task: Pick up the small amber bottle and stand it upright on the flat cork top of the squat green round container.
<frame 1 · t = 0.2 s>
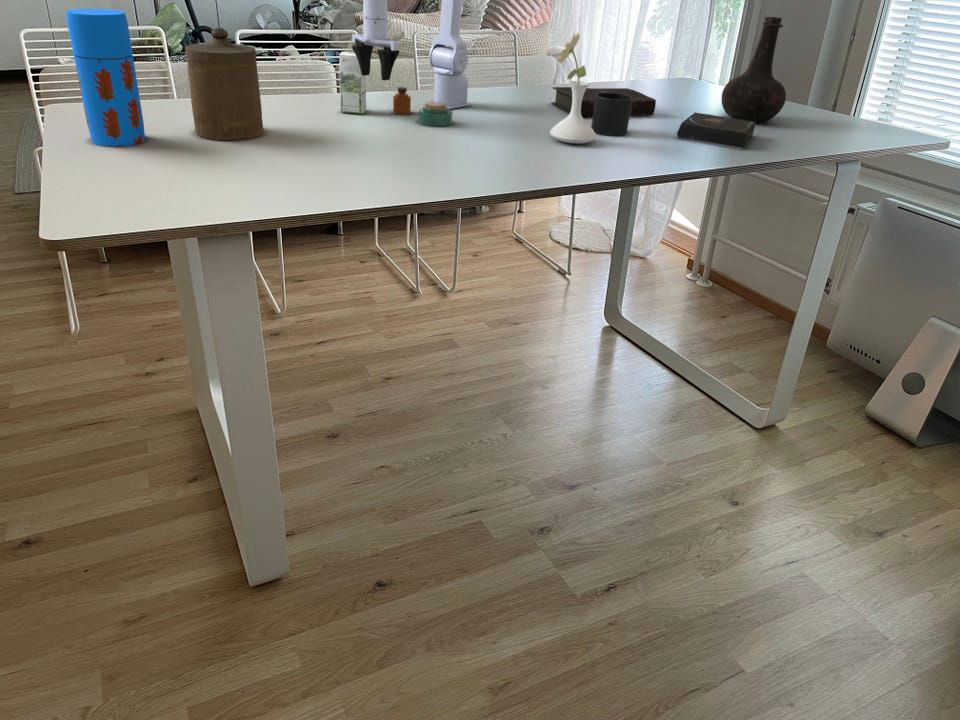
hand: (375, 77, 185), 10 cm above the table, tool pointing down, fingers open, 7 cm apart
green round container: (435, 122, 191), on the table
syrup box: (353, 112, 196), on the table, touching gripper
wooden container: (229, 133, 169), on the table
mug: (612, 132, 196), on the table
flower in vase: (569, 142, 183), on the table
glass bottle: (747, 120, 220), on the table
diary: (601, 111, 218), on the table
amber bottle: (401, 112, 198), on the table
thermos: (118, 141, 158), on the table
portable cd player: (714, 138, 197), on the table
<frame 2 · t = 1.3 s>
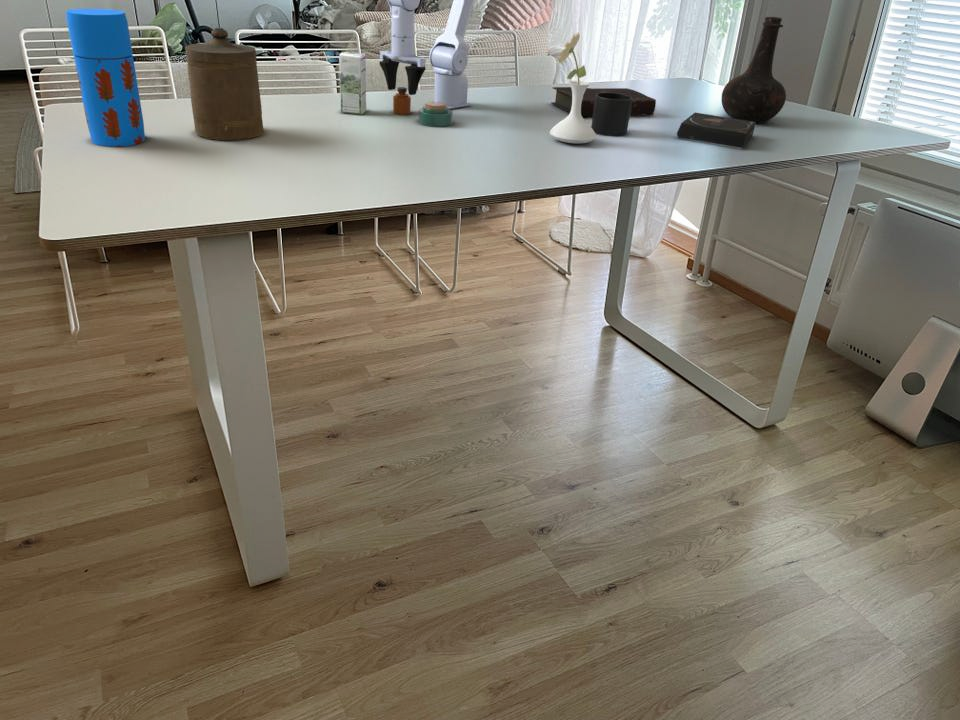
hand: (401, 91, 196), 5 cm above the table, tool pointing down, fingers open, 7 cm apart
syrup box: (353, 112, 196), on the table
everything else where it was.
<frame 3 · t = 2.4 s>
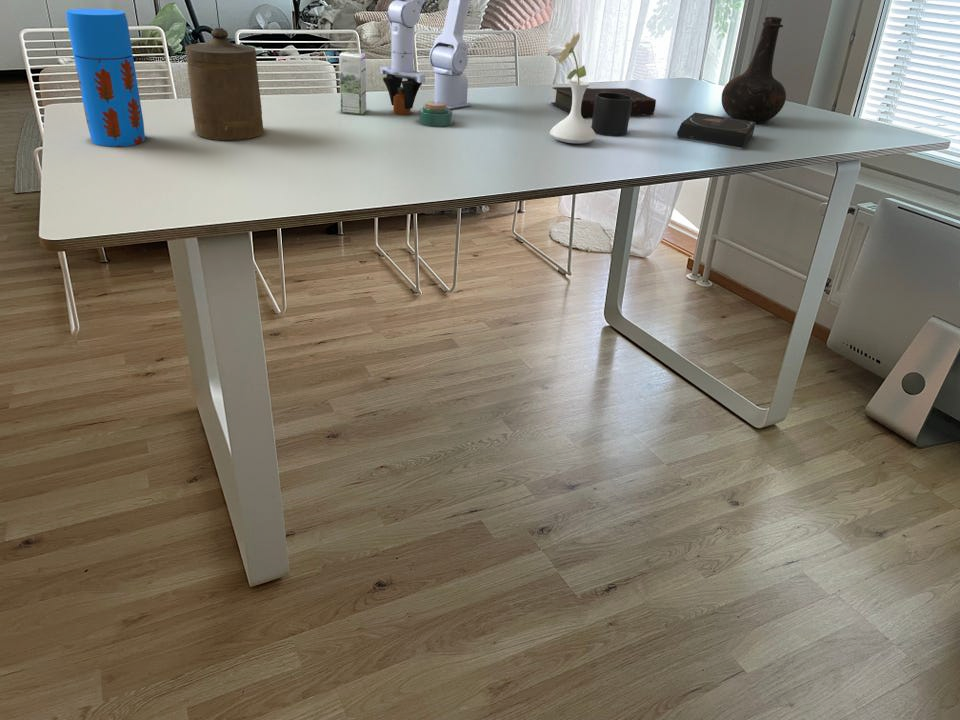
hand: (401, 106, 198), 2 cm above the table, tool pointing down, fingers closed on amber bottle, 4 cm apart
amber bottle: (401, 112, 198), on the table, touching gripper
everything else where it was.
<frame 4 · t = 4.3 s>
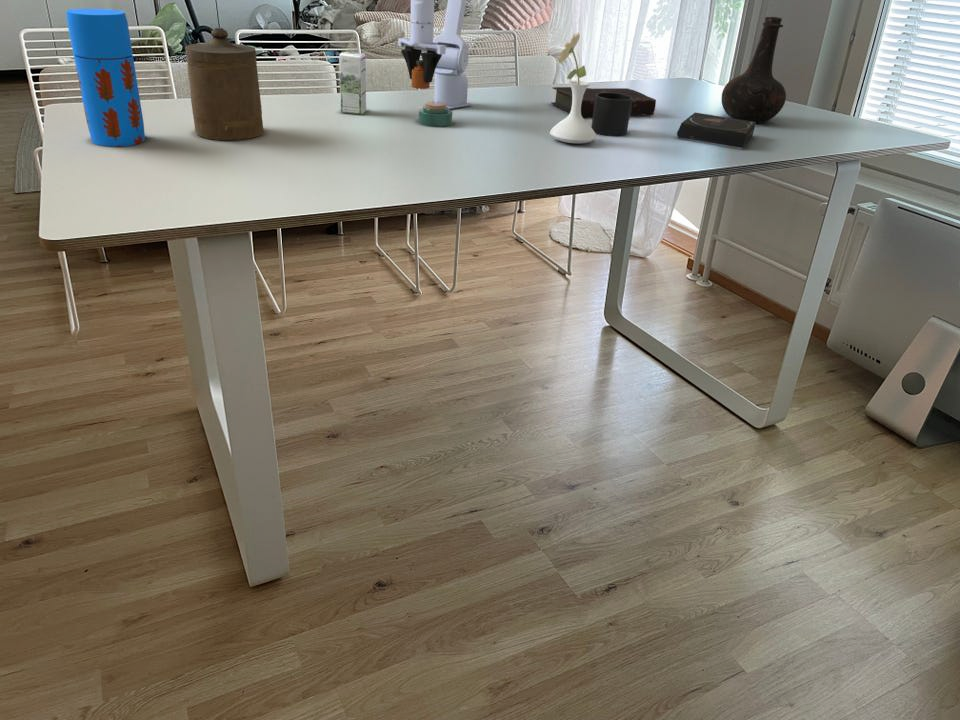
hand: (420, 80, 190), 9 cm above the table, tool pointing down, fingers closed on amber bottle, 4 cm apart
amber bottle: (420, 87, 190), point 8 cm above the table, touching gripper
everything else where it was.
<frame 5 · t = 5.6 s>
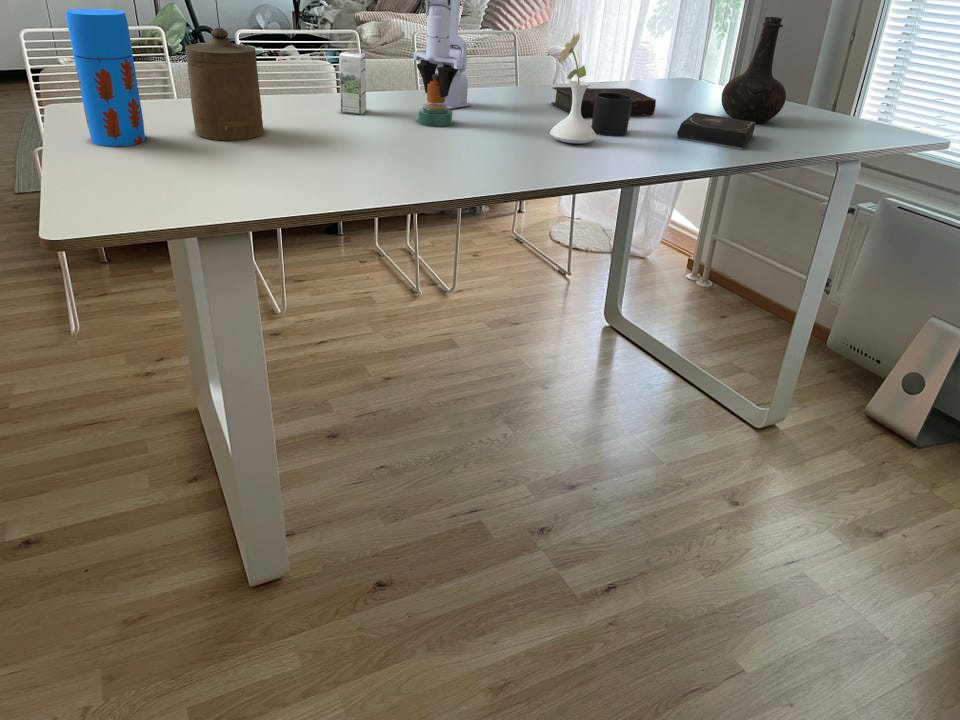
hand: (436, 94, 187), 7 cm above the table, tool pointing down, fingers closed on amber bottle, 4 cm apart
amber bottle: (436, 101, 188), point 5 cm above the table, touching gripper
everything else where it was.
when the fingers open (6 cm above the table, at t = 6.2 s): amber bottle stays where it is, resting on green round container.
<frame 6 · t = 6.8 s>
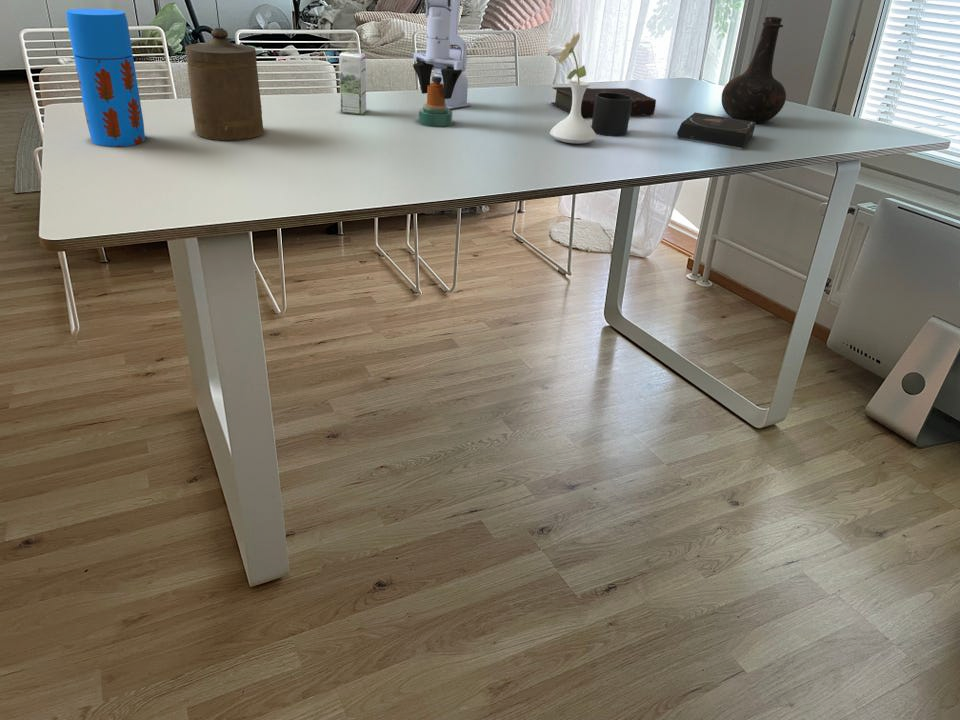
hand: (436, 95, 188), 7 cm above the table, tool pointing down, fingers open, 7 cm apart
green round container: (435, 122, 191), on the table, touching amber bottle
amber bottle: (436, 103, 188), point 5 cm above the table, touching green round container
everything else where it was.
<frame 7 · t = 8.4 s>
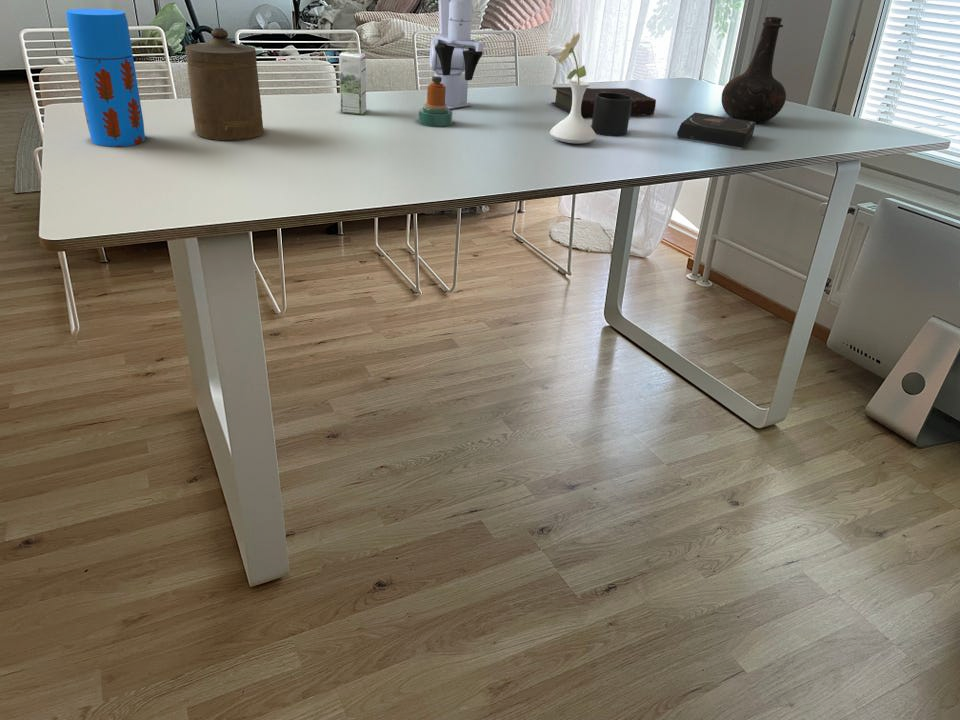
hand: (457, 77, 191), 10 cm above the table, tool pointing down, fingers open, 7 cm apart
nothing on the table moved.
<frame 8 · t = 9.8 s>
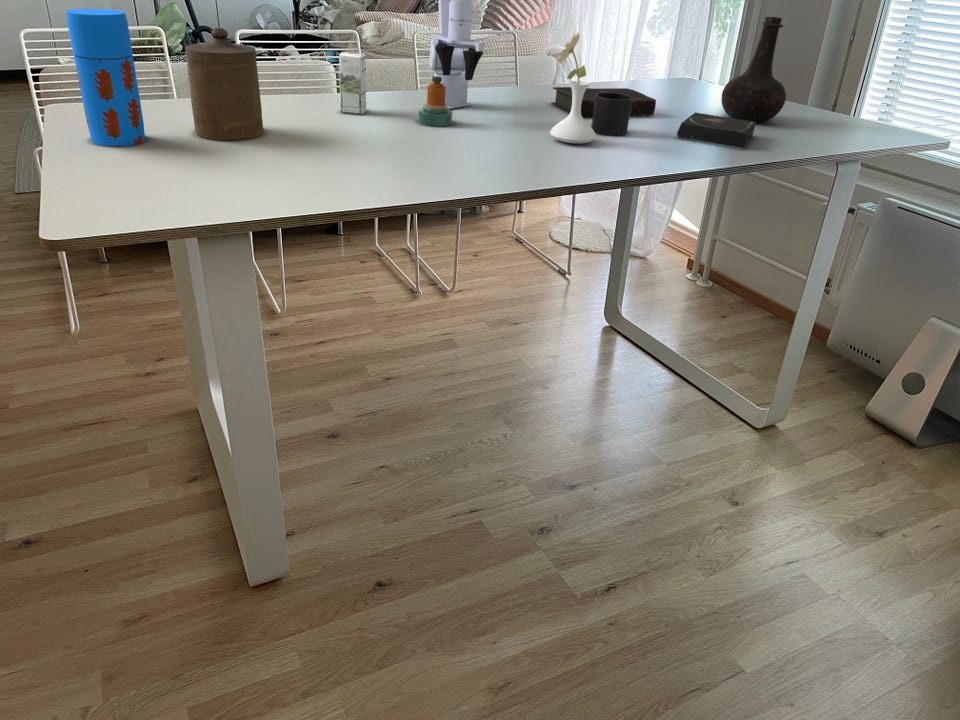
hand: (457, 77, 191), 10 cm above the table, tool pointing down, fingers open, 7 cm apart
nothing on the table moved.
at the end: amber bottle 0.1 cm off-centre on the green round container, point 4.8 cm above the green round container's base; amber bottle tilted 0°; the gripper is holding nothing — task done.
